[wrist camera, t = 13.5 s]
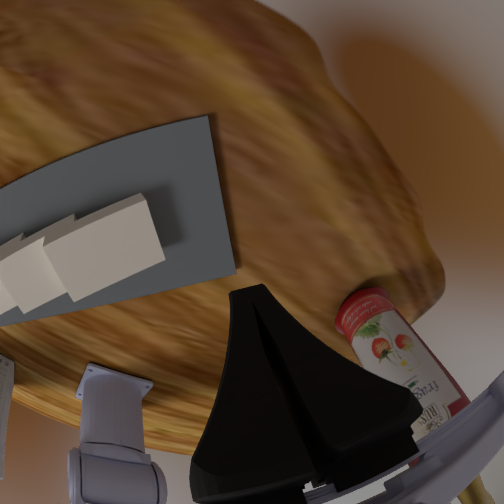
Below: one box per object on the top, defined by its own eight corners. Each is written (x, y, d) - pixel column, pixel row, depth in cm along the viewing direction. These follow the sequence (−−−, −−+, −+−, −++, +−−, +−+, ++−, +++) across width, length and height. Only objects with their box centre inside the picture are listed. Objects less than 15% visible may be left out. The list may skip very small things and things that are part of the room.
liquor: (367, 266, 26) (524, 504, 4) (392, 293, 30) (517, 481, 8) (315, 315, 28) (436, 556, 6) (348, 333, 32) (451, 525, 10)
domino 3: (146, 199, 15) (42, 246, 13) (165, 259, 18) (73, 302, 15) (140, 192, 17) (44, 235, 14) (159, 249, 19) (72, 288, 17)
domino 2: (73, 221, 15) (-8, 265, 12) (99, 276, 17) (23, 314, 15) (74, 213, 16) (-3, 254, 13) (97, 265, 19) (25, 301, 16)
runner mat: (207, 115, 15) (207, 115, 15) (235, 269, 22) (236, 273, 22) (-68, 233, 12) (-71, 236, 11) (-12, 325, 19) (-13, 329, 18)
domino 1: (19, 241, 14) (-41, 279, 12) (46, 290, 17) (-12, 321, 14) (23, 232, 15) (-36, 268, 13) (47, 278, 18) (-9, 309, 15)
